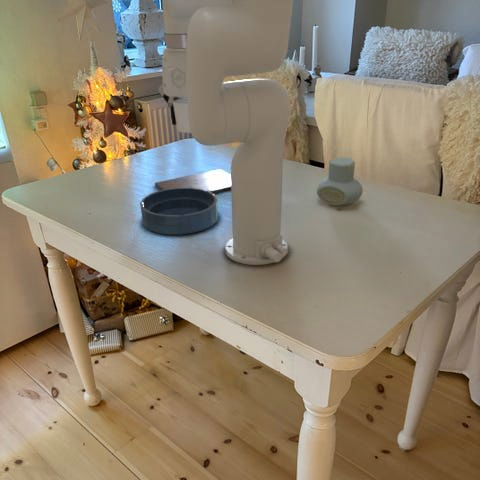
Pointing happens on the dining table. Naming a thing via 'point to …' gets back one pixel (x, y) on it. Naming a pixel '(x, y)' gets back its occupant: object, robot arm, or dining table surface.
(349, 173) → the air freshener
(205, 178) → the board
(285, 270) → the dining table surface
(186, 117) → the white cup
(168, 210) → the bowl
